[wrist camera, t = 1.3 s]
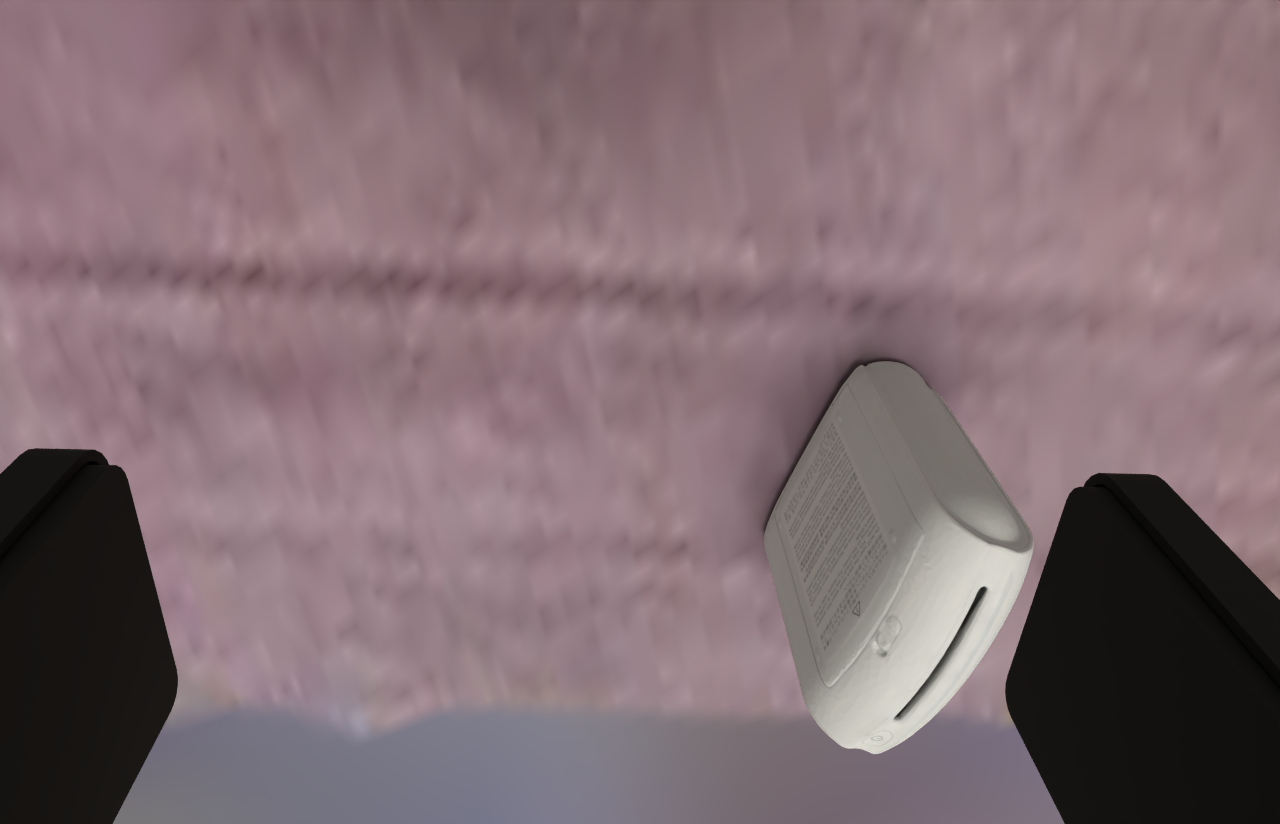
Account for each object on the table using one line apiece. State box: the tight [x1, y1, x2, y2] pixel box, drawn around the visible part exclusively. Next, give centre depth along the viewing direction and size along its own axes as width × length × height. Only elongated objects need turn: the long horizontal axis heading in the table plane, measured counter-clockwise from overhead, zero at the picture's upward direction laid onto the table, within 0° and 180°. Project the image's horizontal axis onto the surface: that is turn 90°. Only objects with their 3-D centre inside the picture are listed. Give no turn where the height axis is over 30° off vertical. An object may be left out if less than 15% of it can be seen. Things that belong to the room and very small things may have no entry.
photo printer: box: [764, 361, 1034, 754], centre depth 34 cm, size 10×4×12 cm, turn 159°
